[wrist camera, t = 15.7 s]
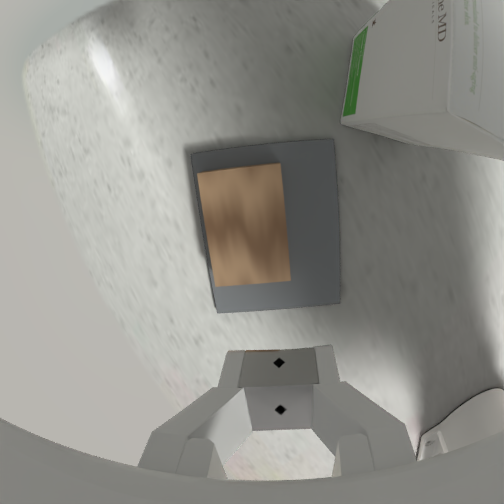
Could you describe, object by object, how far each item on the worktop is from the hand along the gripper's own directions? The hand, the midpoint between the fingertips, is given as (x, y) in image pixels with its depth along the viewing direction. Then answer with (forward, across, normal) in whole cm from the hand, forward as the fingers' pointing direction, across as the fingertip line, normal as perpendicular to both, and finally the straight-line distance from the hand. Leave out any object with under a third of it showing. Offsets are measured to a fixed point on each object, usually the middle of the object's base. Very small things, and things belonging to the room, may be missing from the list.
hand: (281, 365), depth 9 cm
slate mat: (+17, +1, +1) cm, 17 cm away
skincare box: (+17, -9, -10) cm, 22 cm away
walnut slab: (+16, 0, 0) cm, 16 cm away
